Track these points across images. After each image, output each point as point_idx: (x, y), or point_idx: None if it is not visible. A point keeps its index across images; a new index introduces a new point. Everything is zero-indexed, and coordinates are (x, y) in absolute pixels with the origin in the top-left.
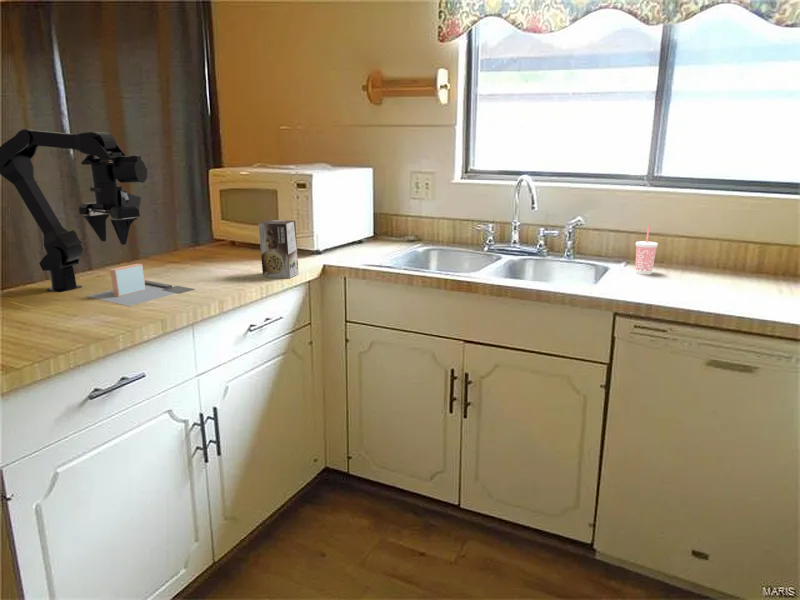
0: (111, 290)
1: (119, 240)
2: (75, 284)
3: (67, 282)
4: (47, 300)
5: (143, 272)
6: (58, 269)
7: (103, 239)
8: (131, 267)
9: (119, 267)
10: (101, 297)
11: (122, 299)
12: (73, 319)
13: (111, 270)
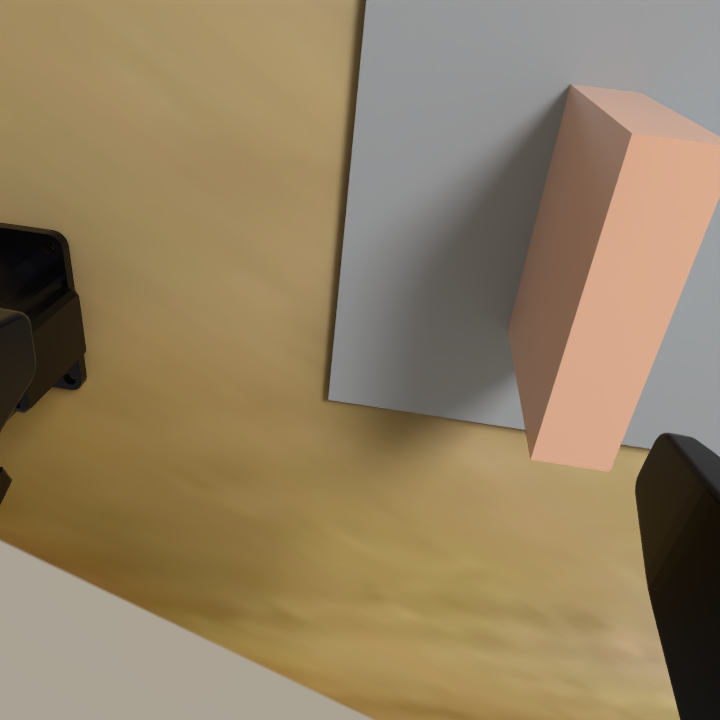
0: (362, 229)
1: (651, 572)
2: (67, 308)
3: (59, 371)
4: (183, 492)
5: (700, 127)
6: (5, 485)
7: (18, 369)
8: (676, 304)
9: (562, 376)
10: (459, 389)
11: (649, 381)
12: (624, 654)
13: (549, 456)
